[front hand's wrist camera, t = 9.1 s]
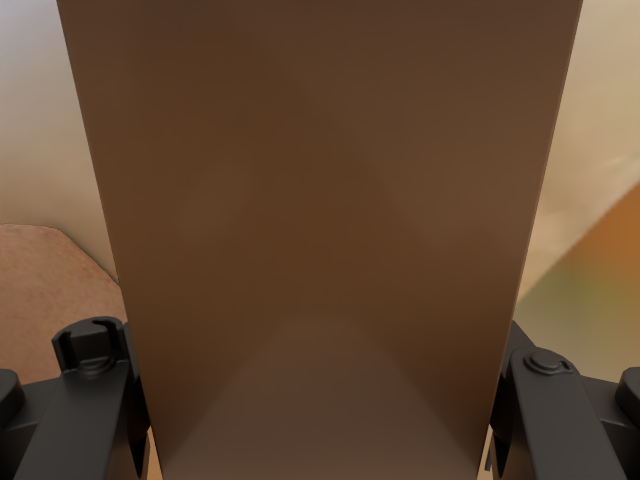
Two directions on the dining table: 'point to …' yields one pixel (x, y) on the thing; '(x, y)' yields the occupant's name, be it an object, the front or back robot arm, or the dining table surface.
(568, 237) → the dining table surface
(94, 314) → the stone
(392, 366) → the box
